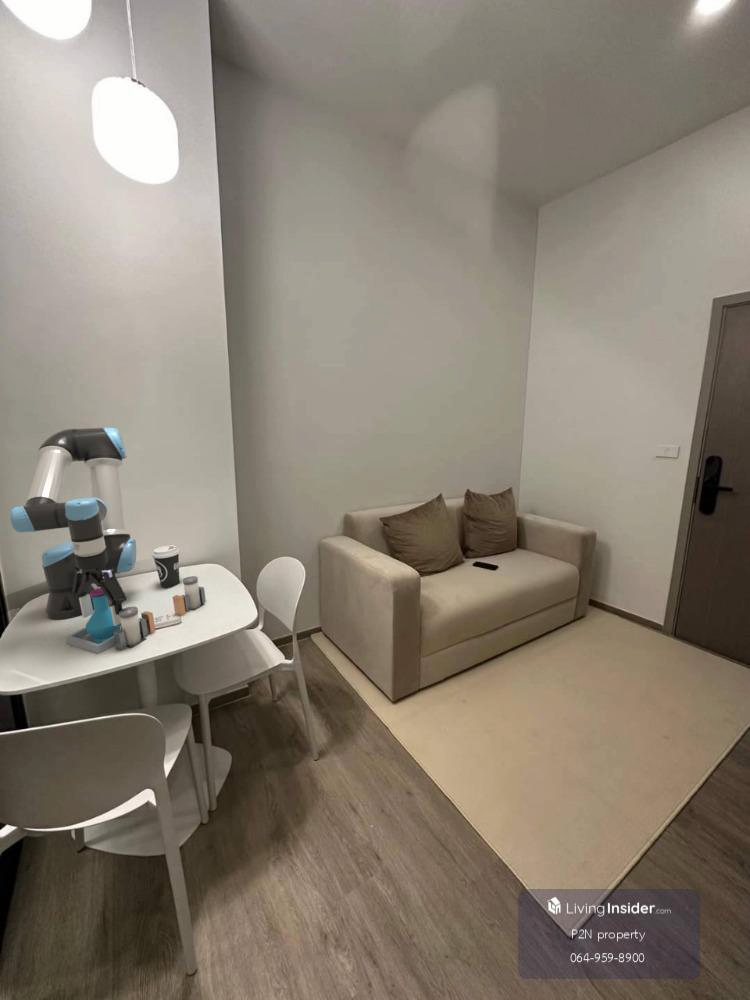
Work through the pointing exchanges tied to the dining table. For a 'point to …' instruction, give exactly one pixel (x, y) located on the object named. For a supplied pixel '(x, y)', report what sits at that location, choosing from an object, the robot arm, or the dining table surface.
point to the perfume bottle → (100, 618)
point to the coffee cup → (167, 565)
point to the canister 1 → (130, 625)
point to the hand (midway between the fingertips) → (103, 619)
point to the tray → (88, 642)
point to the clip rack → (148, 621)
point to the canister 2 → (192, 591)
